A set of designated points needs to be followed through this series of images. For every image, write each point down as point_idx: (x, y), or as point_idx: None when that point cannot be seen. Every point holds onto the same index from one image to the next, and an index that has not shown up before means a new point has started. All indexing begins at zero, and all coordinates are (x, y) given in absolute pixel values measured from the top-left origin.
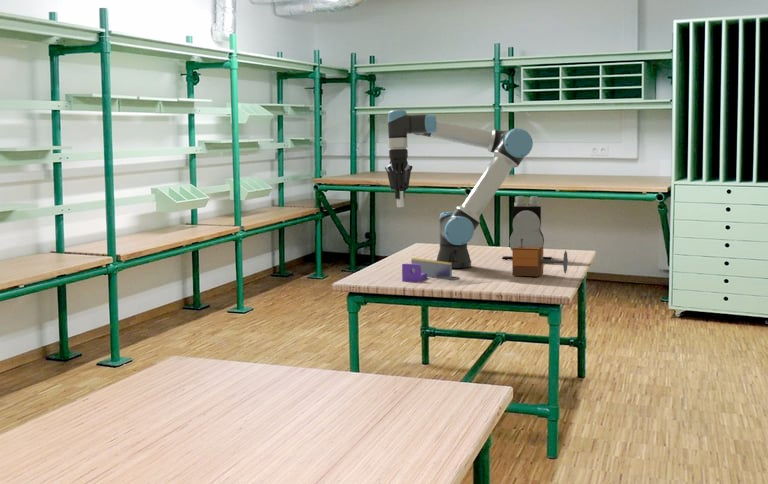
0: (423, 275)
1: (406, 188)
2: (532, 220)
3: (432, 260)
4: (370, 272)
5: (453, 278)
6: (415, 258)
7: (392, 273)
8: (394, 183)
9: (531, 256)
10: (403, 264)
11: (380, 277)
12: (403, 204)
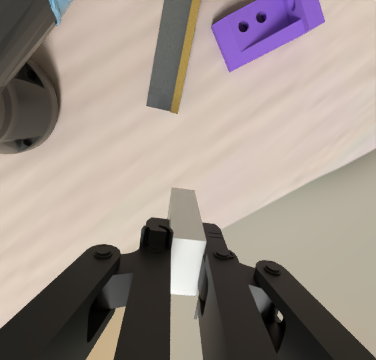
0: (251, 3)
1: (117, 249)
2: None
3: (195, 6)
4: (206, 217)
5: None
6: (179, 96)
7: (190, 164)
8: (313, 309)
9: None
10: (323, 17)
11: (269, 133)
12: (173, 193)
